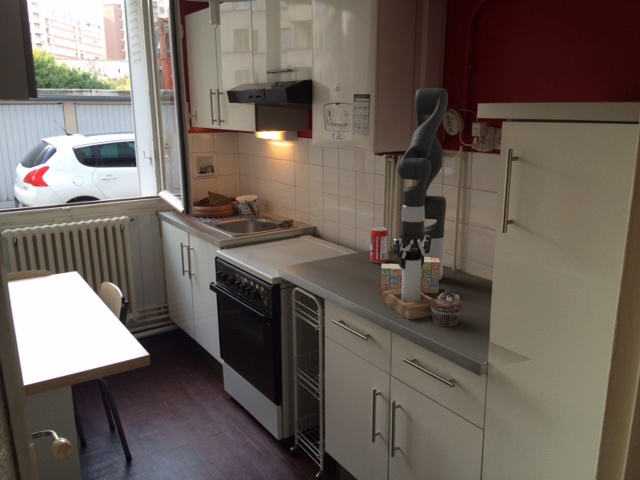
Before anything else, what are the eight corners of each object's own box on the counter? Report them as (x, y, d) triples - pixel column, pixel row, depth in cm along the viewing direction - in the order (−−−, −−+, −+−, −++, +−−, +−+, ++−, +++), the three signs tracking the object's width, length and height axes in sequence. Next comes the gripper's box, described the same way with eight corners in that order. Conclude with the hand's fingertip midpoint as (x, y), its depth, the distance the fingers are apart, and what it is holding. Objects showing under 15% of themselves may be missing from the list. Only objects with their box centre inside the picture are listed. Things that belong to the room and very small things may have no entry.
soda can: (383, 264, 240) (384, 231, 236) (367, 262, 244) (367, 229, 240) (390, 260, 246) (391, 227, 243) (374, 258, 250) (375, 226, 247)
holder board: (382, 301, 195) (382, 291, 194) (411, 297, 200) (411, 286, 199) (408, 319, 179) (408, 308, 178) (439, 314, 183) (440, 302, 182)
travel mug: (396, 304, 189) (398, 248, 184) (409, 300, 193) (411, 245, 189) (410, 309, 185) (412, 252, 180) (423, 305, 189) (425, 248, 184)
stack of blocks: (380, 291, 206) (381, 260, 203) (381, 286, 212) (381, 255, 209) (438, 293, 203) (440, 261, 200) (437, 288, 209) (438, 257, 206)
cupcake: (439, 313, 184) (440, 285, 181) (466, 320, 178) (467, 291, 175) (424, 322, 177) (425, 292, 174) (451, 330, 171) (453, 299, 168)
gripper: (425, 214, 188) (423, 261, 192) (388, 218, 183) (387, 266, 187) (437, 218, 181) (435, 267, 185) (399, 222, 176) (398, 272, 180)
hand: (411, 266), depth 186 cm, fingers closed on travel mug, 6 cm apart
